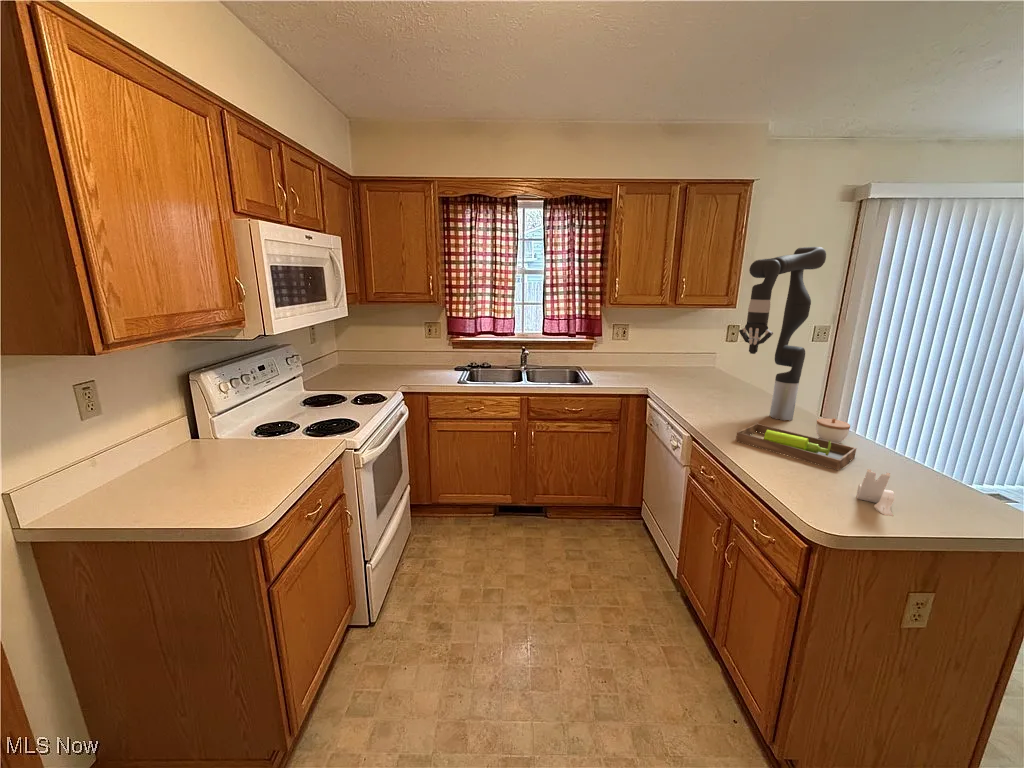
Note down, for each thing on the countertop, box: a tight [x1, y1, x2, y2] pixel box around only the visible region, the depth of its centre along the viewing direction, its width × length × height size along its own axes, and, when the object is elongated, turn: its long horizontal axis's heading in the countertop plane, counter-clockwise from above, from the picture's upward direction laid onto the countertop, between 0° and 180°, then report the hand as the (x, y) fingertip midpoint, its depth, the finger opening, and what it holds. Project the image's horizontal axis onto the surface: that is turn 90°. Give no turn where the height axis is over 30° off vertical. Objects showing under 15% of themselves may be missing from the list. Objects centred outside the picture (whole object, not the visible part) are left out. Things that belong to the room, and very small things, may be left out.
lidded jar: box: [815, 417, 851, 444], centre depth 172 cm, size 11×11×9 cm
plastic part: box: [856, 469, 895, 517], centre depth 123 cm, size 8×10×12 cm
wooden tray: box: [735, 423, 857, 471], centre depth 165 cm, size 18×34×4 cm, turn 39°
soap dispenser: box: [763, 430, 831, 456], centre depth 160 cm, size 6×7×20 cm
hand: (752, 353), depth 181 cm, fingers closed
